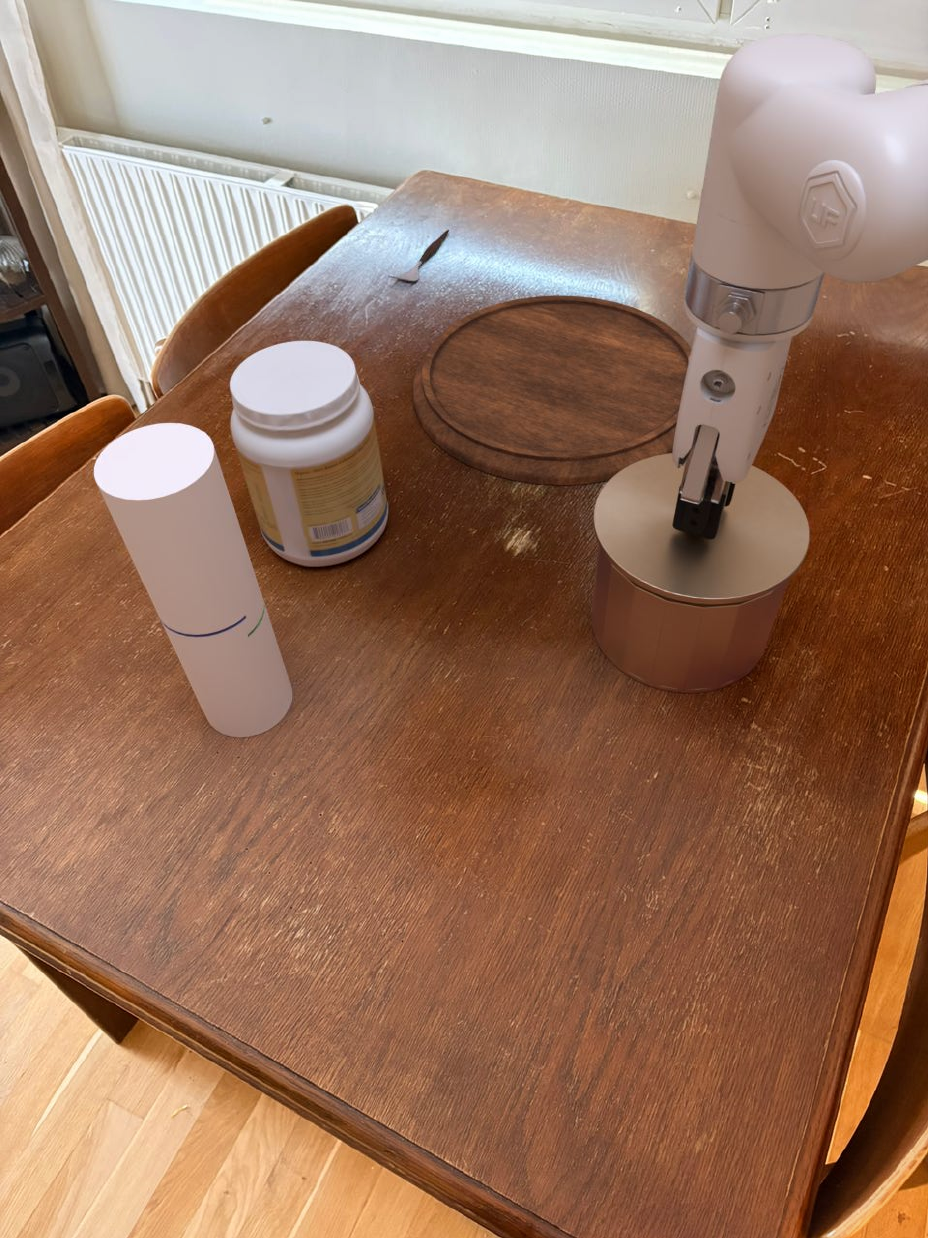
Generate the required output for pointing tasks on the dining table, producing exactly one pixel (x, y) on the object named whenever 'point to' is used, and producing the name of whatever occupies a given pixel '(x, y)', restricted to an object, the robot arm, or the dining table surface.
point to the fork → (422, 260)
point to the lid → (692, 565)
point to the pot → (678, 633)
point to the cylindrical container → (197, 572)
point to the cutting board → (553, 389)
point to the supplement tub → (309, 452)
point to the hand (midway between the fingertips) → (701, 513)
